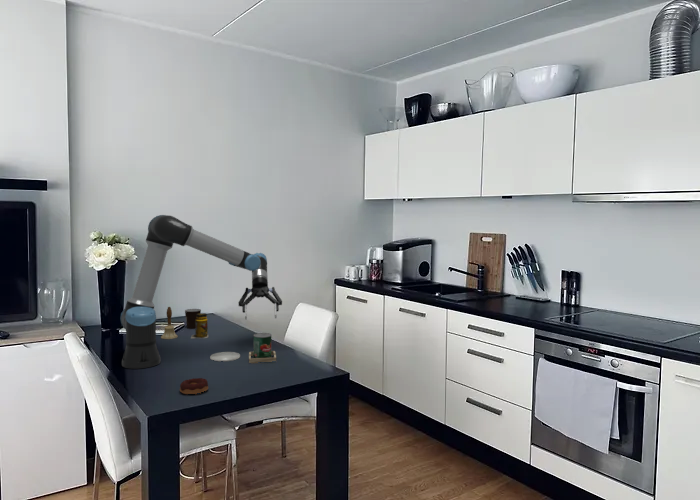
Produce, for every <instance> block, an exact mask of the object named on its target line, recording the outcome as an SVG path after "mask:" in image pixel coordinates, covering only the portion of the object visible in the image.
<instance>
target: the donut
mask: <svg viewBox="0 0 700 500" xmlns="http://www.w3.org/2000/svg"><path fill="white" fill-rule="evenodd" d="M208 382H209V381H208V380H207V379H206V378H203V377H199V378H197V377H195V378H194V377H193V378H190V379H185V380H183V381H182V382H181V383H180V385H179V391H180V393H182V394H184V395H188V394H195V395H198V394H197V393H200V394H202V393H201V392H203V393H205V392H207V391H208V390H209V383H208ZM204 391H205V392H204Z"/></svg>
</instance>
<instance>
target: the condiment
mask: <svg viewBox="0 0 700 500" xmlns="http://www.w3.org/2000/svg"><path fill="white" fill-rule="evenodd" d="M207 315H208V314H207V313H203V312H202V313H199V314H197V315H196V320H195V324H196V326H195V327H196V329H195V330H194V331H195V334H192V335H190V336H191V337H190V339H208V338H209V333H208V321H209V320H208V316H207Z"/></svg>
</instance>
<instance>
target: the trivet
mask: <svg viewBox="0 0 700 500" xmlns="http://www.w3.org/2000/svg"><path fill="white" fill-rule="evenodd" d="M209 358H210V360H212V361H213V360H214V362H221V361H223V362H232V361H236V360H238V359H240V358H241V354H240V353H239V352H236V351H222V352H221V351H220V352H215V353H212V354H211V355H210V356H209Z"/></svg>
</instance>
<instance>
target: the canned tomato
mask: <svg viewBox="0 0 700 500" xmlns="http://www.w3.org/2000/svg"><path fill="white" fill-rule="evenodd" d="M271 351H272V334H271V333H270V332H258V333H254V334H253V352H254V353H253V354H254V355H253V358H272V356H271Z"/></svg>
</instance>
